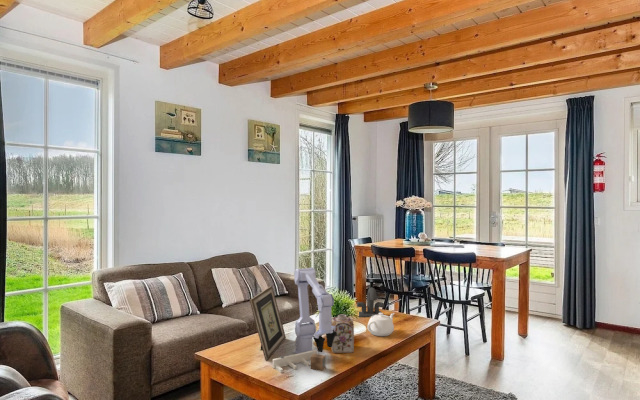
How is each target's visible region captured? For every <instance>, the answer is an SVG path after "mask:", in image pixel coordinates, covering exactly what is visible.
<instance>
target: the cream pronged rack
mask: <svg viewBox="0 0 640 400" xmlns="http://www.w3.org/2000/svg"><path fill="white" fill-rule="evenodd" d="M313 354H318V349H312V351H307V352H303V353H298V354H297V353H295V354H289V355H285V356H284V355H280V356H279V357H277V358H273V359H272V367H271V368H273V369H275V370H276V371H278V372H279V373H280V374H282V373H284V369H283V368H282V367H287V366H289V367H291V368H292V369H293V370H297V369H298V366H297V364H300V363H301V364H303V365H305V366H307V367H311V362H310V361H311V356H312V355H313Z"/></svg>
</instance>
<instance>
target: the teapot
mask: <svg viewBox="0 0 640 400" xmlns="http://www.w3.org/2000/svg"><path fill="white" fill-rule="evenodd" d="M383 314H384V313H383V312H382V313H379V315H373V316H371V317H369V320H368V322H367V327H366V328H367V330H368V332H369V333H370V334H371V335H373V336H376V337H387V336H390V335H391V334H392V333H393V332H394V330H395V327H394V326H395V325H394V322H393V319H394V318H393V317H394V315H395V312H392V313H391V314H390V315H387V314H386V315H385V314H384V315H383Z"/></svg>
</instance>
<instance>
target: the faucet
mask: <svg viewBox="0 0 640 400" xmlns="http://www.w3.org/2000/svg"><path fill="white" fill-rule="evenodd" d="M366 296H367V297H366V302H367V303H365V302H362V301H357V302H356V307H357V308H361V311H358V312H359V316H358V318H371V316H373V315H379V313H383V312H382V311H381V310H380V308H384V307H385V303H384V302H380V301H378V302H376V303H375V302H374V301H377V300H378V298H377V297H378V296H377V290H376V288H374V287H372V286H371V287H369V288H368V289H367V295H366ZM383 315H385V314H384V313H383Z"/></svg>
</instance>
